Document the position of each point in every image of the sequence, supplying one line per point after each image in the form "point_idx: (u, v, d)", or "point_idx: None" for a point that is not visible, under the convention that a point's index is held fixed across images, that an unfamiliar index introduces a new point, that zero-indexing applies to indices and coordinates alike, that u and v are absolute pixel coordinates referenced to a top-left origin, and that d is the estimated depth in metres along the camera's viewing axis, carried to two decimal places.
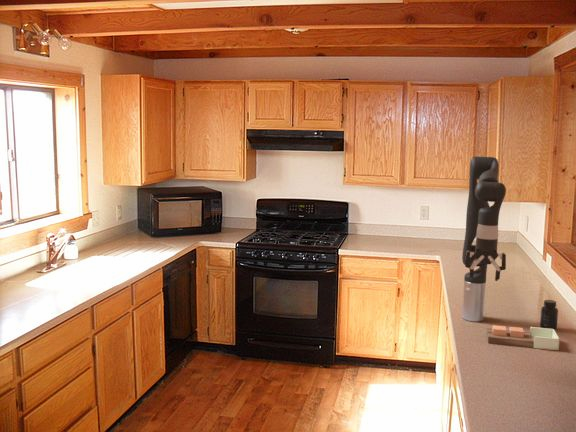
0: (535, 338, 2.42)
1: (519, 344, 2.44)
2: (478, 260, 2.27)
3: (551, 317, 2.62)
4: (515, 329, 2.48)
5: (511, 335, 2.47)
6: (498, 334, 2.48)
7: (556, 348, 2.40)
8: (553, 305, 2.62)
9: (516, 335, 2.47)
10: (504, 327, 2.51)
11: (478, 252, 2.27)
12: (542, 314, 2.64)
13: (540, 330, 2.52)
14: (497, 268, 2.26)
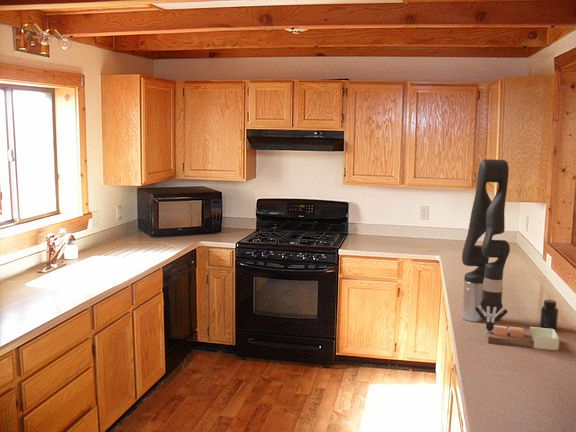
0: (535, 338, 2.42)
1: (519, 344, 2.44)
2: (488, 312, 2.49)
3: (551, 317, 2.62)
4: (515, 329, 2.48)
5: (511, 335, 2.47)
6: (499, 334, 2.48)
7: (556, 348, 2.40)
8: (553, 305, 2.62)
9: (516, 335, 2.47)
10: (505, 327, 2.51)
11: (484, 303, 2.49)
12: (542, 314, 2.64)
13: (540, 330, 2.52)
14: (492, 319, 2.49)
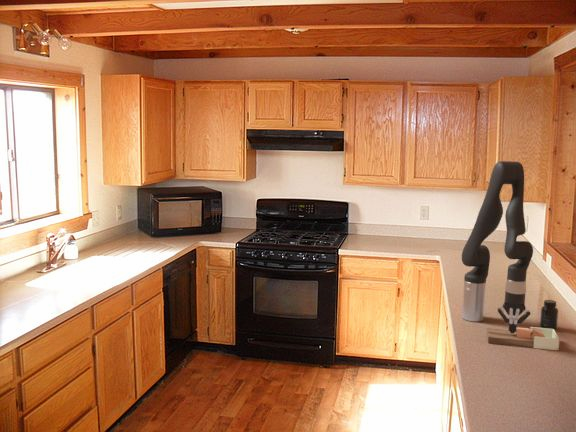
0: (535, 338, 2.42)
1: (519, 344, 2.44)
2: (510, 314, 2.47)
3: (551, 317, 2.62)
4: (537, 332, 2.46)
5: (532, 337, 2.45)
6: (522, 336, 2.46)
7: (556, 348, 2.40)
8: (553, 305, 2.62)
9: None
10: (528, 329, 2.49)
11: (507, 305, 2.47)
12: (542, 314, 2.64)
13: (540, 330, 2.52)
14: (515, 321, 2.47)
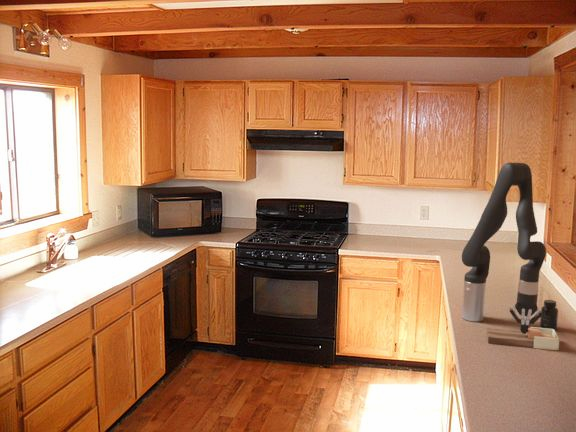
0: (535, 338, 2.42)
1: (519, 344, 2.44)
2: (522, 314, 2.46)
3: (551, 317, 2.62)
4: (546, 336, 2.46)
5: None
6: (533, 337, 2.46)
7: (556, 348, 2.40)
8: (553, 305, 2.62)
9: None
10: (539, 331, 2.48)
11: (519, 305, 2.46)
12: None
13: (540, 330, 2.52)
14: (527, 322, 2.46)
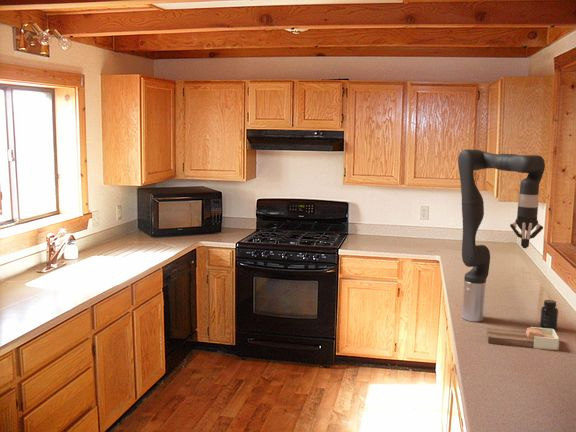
0: (535, 338, 2.42)
1: (519, 344, 2.44)
2: (523, 228, 2.48)
3: (551, 317, 2.62)
4: (546, 336, 2.46)
5: None
6: (533, 337, 2.46)
7: (556, 348, 2.40)
8: (553, 305, 2.62)
9: None
10: (539, 331, 2.48)
11: (520, 220, 2.48)
12: (542, 314, 2.64)
13: (540, 330, 2.52)
14: (528, 236, 2.48)
